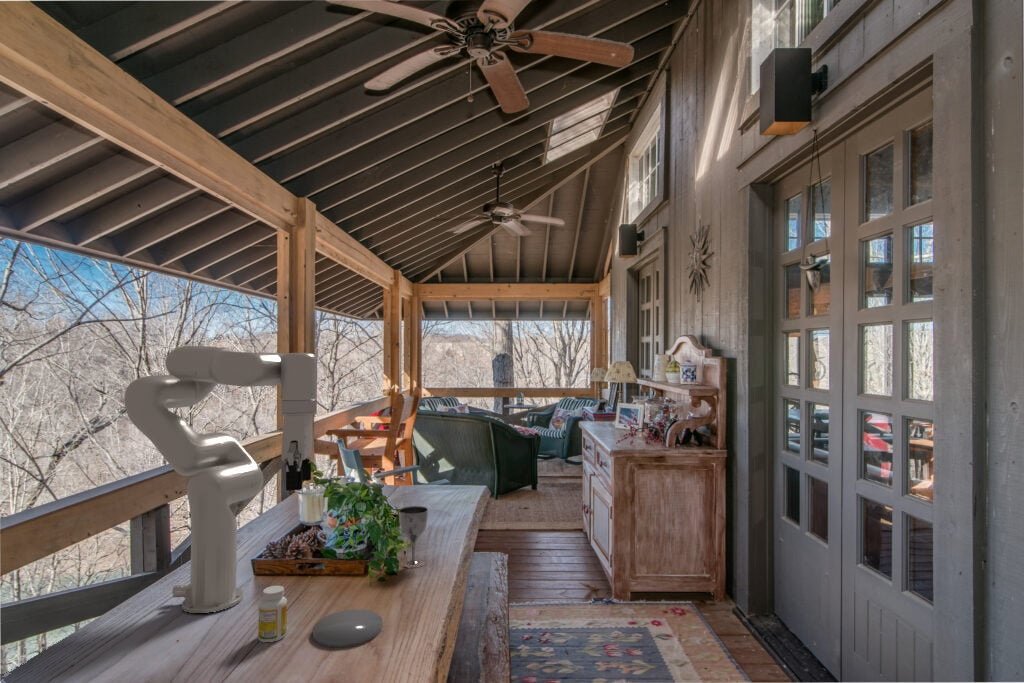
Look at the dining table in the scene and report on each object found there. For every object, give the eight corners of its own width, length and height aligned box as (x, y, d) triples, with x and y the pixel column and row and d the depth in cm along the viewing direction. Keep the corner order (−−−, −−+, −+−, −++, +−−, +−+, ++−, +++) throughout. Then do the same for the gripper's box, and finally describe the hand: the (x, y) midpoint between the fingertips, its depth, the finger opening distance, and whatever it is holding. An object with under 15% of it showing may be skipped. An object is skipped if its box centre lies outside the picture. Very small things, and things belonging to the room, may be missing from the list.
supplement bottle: (265, 646, 108) (266, 597, 109) (253, 637, 112) (254, 590, 112) (291, 635, 113) (292, 588, 113) (278, 627, 116) (279, 582, 116)
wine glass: (421, 570, 148) (421, 514, 149) (394, 567, 150) (394, 512, 150) (431, 559, 156) (431, 506, 156) (405, 557, 158) (405, 505, 158)
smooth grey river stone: (305, 649, 107) (305, 643, 107) (321, 616, 121) (321, 611, 121) (377, 645, 109) (377, 639, 109) (385, 613, 123) (386, 607, 123)
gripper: (290, 405, 130) (290, 478, 129) (271, 411, 113) (270, 495, 112) (323, 404, 131) (323, 476, 130) (308, 410, 114) (309, 493, 113)
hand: (299, 485), depth 121 cm, fingers open, 9 cm apart
